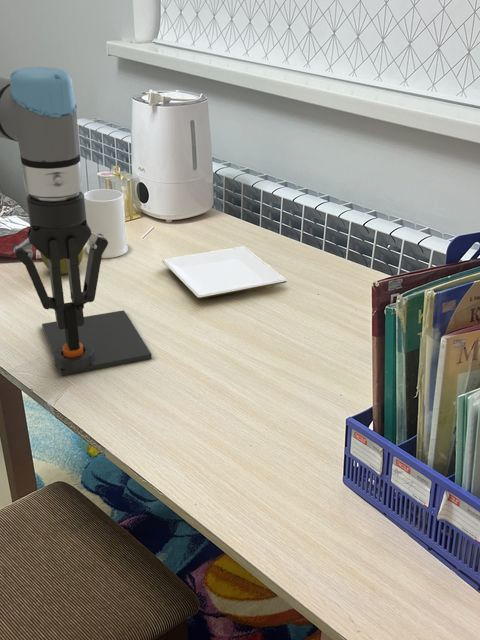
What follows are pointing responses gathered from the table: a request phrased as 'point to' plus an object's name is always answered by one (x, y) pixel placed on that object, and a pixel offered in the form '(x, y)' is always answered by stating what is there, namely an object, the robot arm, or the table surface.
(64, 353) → the button
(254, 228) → the table surface
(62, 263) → the apple
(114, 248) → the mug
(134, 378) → the table surface
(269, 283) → the plate
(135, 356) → the scale
